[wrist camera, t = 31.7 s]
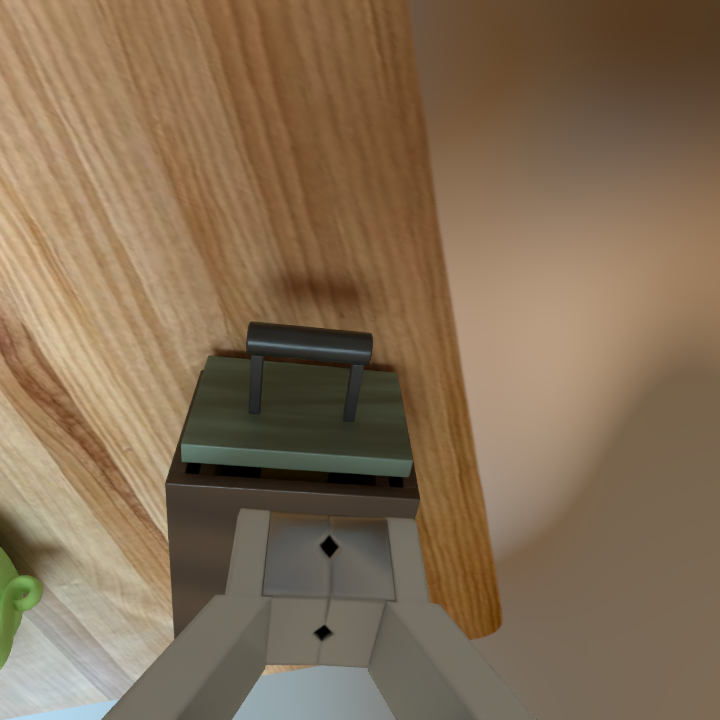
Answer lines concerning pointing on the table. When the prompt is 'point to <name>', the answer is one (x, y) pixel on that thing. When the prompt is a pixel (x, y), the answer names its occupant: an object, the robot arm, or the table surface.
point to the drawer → (299, 410)
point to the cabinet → (229, 494)
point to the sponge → (294, 475)
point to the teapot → (14, 602)
